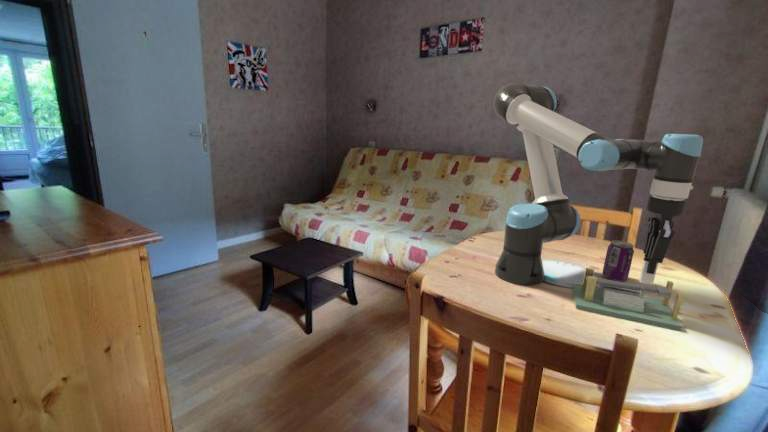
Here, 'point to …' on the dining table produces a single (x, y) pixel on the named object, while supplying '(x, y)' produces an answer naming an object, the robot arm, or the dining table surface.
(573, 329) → the dining table surface
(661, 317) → the socket board
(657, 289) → the strap
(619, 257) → the beverage can
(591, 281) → the posts
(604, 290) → the block
